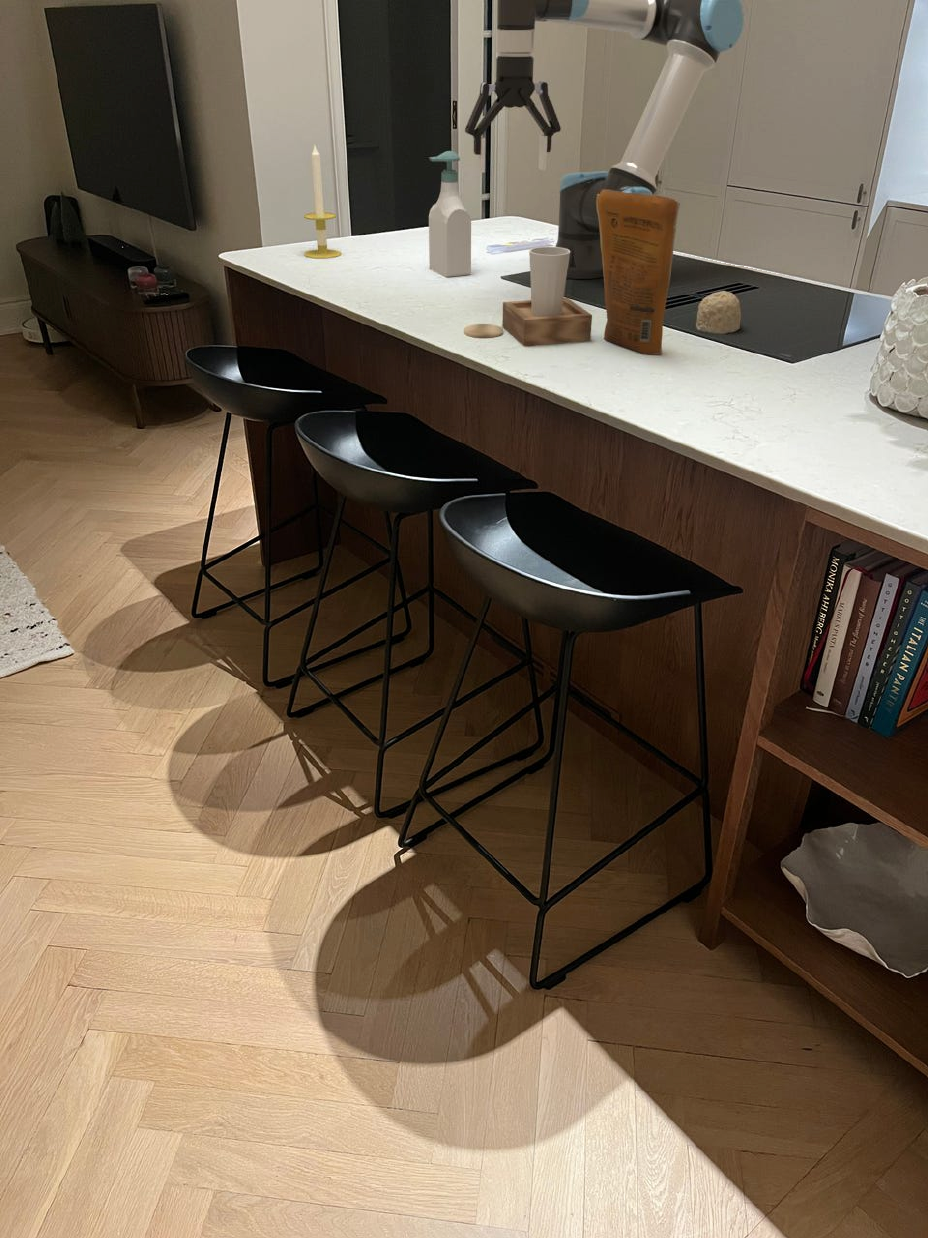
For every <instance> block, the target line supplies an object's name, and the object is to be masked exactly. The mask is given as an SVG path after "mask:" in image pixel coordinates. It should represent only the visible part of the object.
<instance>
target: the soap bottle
mask: <svg viewBox="0 0 928 1238" xmlns="http://www.w3.org/2000/svg"><path fill="white" fill-rule="evenodd" d="M428 159H429V161H431V162H433V163H434V162H446V169H443V170H442V172H441V174H440V175H441V181H440V183H441V184H440V192H439V195H438V198H437V201H436V203H434V204H433V205H432V207H431V208H430V210H429V215H428V240H429V241H428V242H429V243H428V246H429V249H428V251H429V253H428V254H429V269H430V268H431V269H430V270H432V269H433V270H432V271H434V272H435V271H436V272H435V273H437V272H438V273H437V274H439V273H440V274H439V275H441V276H443V277H445V278H453V277H462V276H470V275H471V274H472V272H471V271H472V219H471V216H470V215H469V213H468V212H467V210H466V209H465V206H464V204H463V201H462V199H461V196H460V192H459V191H460V190H459V182H458V179H459V178H458V171H456V169H453V162H459V161H461V157H460V156H459V155H458V154H457V153H456V152H455V151H452V150H447V151H444V152H442V153H440V154H439V155H437V156H433V157H431V156H430V157H428Z"/></svg>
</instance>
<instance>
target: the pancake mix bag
mask: <svg viewBox="0 0 928 1238" xmlns="http://www.w3.org/2000/svg"><path fill="white" fill-rule="evenodd" d="M596 205H597V213H598V219H599V228H600V242H601V251H602V262H603V273H604V277H603V283H604V302H605V310H606V319H607V321H606V324H605V328H604V334H603V336H604V337H603V340H604V341H606V342H608V343H611V344H615V345H617V346H621V347H624V348H626V349H629V350H631V351H633V352H636V353H639V354H642V355H643V354H644V355H663V334H664V333H663V330H664V329H663V328H664V326H663V325H664V319H665V318H664V317H665V312H666V307H667V306H666V305H667V304H666V303H667V299H668V292H669V286H670V282H671V275H672V274H671V273H672V263H673V258H674V246H675V239H676V234H677V233H676V232H677V224H678V223H677V222H678V216H679V215H678V214H679V212H680V211H679V210H680V206H681V203H680V202H678V201H676V200H675V199H674V198H672V197H667V196H662V195H655V194H654V195H649V194H640V193H625V192H619V191H612V190H602V191H601V193H600V195H599V194H597V200H596Z"/></svg>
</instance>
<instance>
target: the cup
mask: <svg viewBox="0 0 928 1238" xmlns="http://www.w3.org/2000/svg"><path fill="white" fill-rule="evenodd" d="M528 252H529V253H528V255H529V268H530V269H529V272H530V273H529V274H530V294H531V295H530V300H531V314H532V315H534V316H537V317H544V316H557V315H562V312H563V299H564V298H565V290H566V284H567V283H566V282H567V278H566V276H567V269H568V264H569V257H570V250H568V249H565V248H560V247H555V246H537V247H532V248H531V249H529V251H528Z"/></svg>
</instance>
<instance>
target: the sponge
mask: <svg viewBox="0 0 928 1238" xmlns="http://www.w3.org/2000/svg"><path fill="white" fill-rule="evenodd" d="M696 313H697V314H696V322H695V328H696V329H697V330H698V331H702V332H706V333H712V334H728V333H734V332H737V330H738V331H739V329H741V327H740V326H741V324H740V323H741V317H742V313H741V306H740V300H739V299H738V297H737V296H736V295H735V294H733V293H732V292H730V291H726V290H721V291H717V292H713V293H711V294H709V295H707V296H705V297H704V298H702V300H701V301H699V304H698V307H697V312H696Z"/></svg>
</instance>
